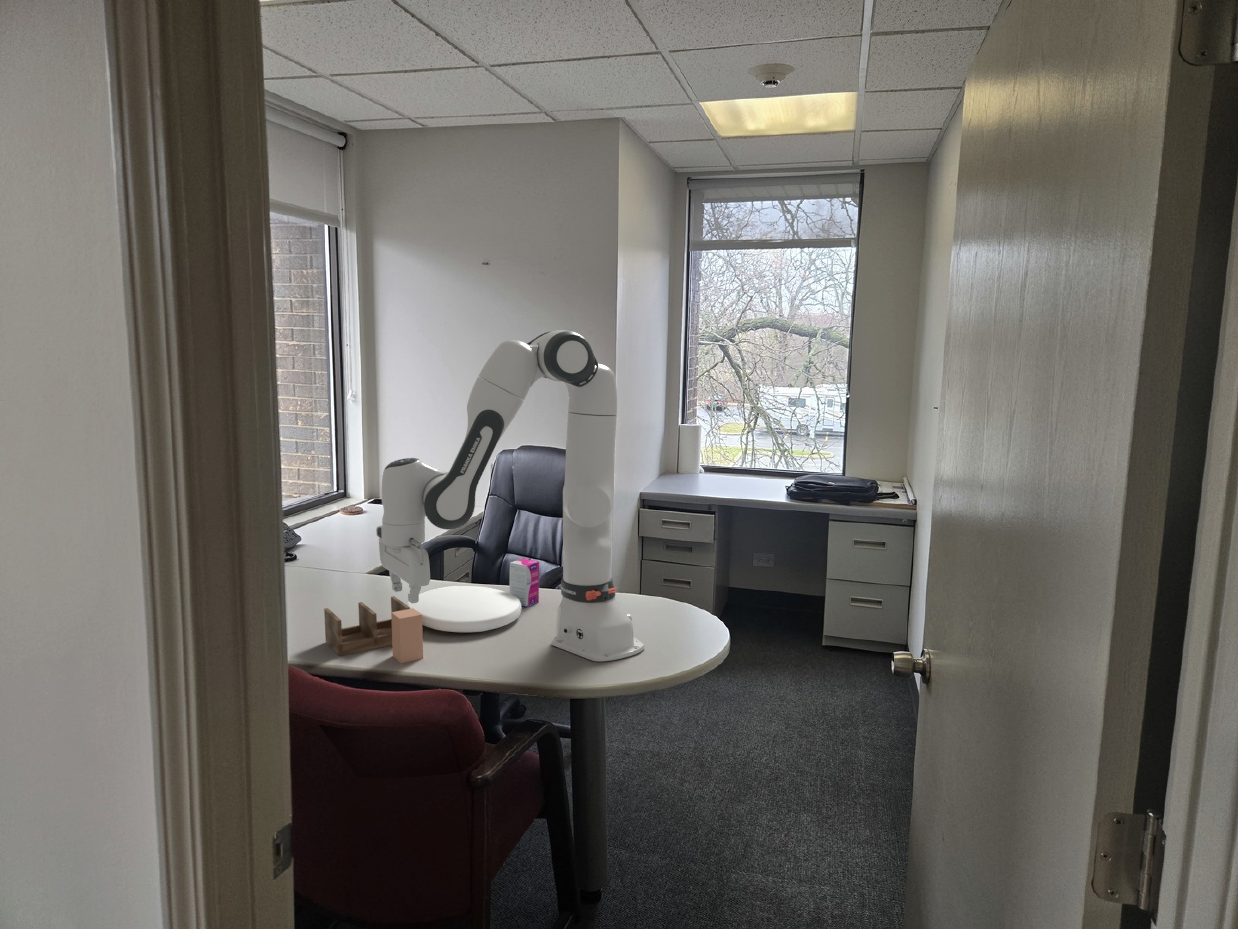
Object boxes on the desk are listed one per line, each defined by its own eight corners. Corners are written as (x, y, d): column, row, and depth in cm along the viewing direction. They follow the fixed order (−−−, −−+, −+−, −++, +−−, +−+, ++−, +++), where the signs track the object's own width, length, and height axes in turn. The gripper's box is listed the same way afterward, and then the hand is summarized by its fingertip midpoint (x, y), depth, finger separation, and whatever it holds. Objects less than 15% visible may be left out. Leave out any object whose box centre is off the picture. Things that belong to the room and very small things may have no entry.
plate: (538, 591, 212) (492, 625, 187) (536, 614, 213) (490, 652, 188) (442, 570, 219) (386, 600, 194) (440, 593, 221) (384, 626, 195)
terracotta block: (423, 658, 178) (422, 614, 177) (401, 663, 176) (399, 618, 174) (414, 651, 182) (413, 608, 181) (392, 656, 180) (391, 612, 178)
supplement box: (526, 608, 212) (526, 565, 210) (508, 604, 215) (508, 562, 213) (539, 602, 217) (539, 560, 215) (522, 598, 220) (522, 557, 218)
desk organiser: (410, 640, 189) (409, 607, 187) (339, 656, 179) (337, 621, 178) (395, 628, 197) (394, 596, 195) (325, 642, 187) (324, 608, 186)
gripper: (437, 542, 168) (438, 607, 170) (400, 523, 185) (402, 582, 187) (407, 546, 165) (409, 612, 167) (373, 526, 181) (374, 586, 183)
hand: (405, 596), depth 177 cm, fingers open, 8 cm apart
